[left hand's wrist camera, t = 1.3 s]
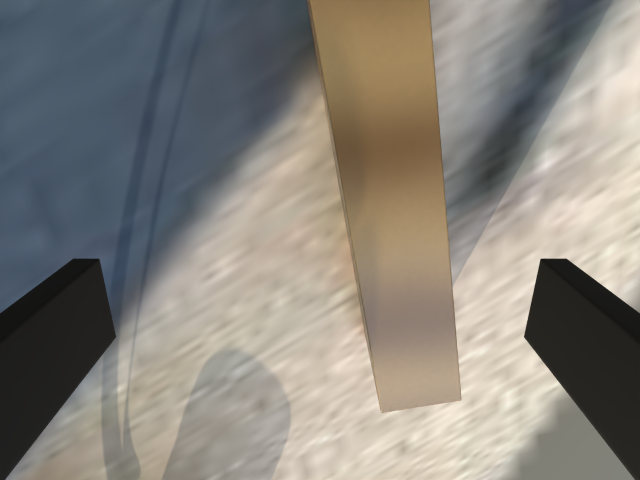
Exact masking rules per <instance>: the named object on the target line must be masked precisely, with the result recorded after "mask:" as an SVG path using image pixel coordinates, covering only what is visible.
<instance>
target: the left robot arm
mask: <svg viewBox="0 0 640 480" xmlns="http://www.w3.org/2000/svg"><path fill="white" fill-rule="evenodd" d="M115 338H116V335H115V330H114V325H113V321H112V316H111V311H110V307H109V302H108V297H107V293H106V288H105V283H104V278H103V274H102V269H101V264H100V260H99V259H72V260H71V261H70V262H68V263H67V264H66V265H64V266H63V267H62V268H60V269H59V270H58V271H56V272H55V273H54V274H52V275H51V276H50V277H48V278H47V279H46V280H44V281H43V282H42V283H40V284H39V285H38V286H36V287H35V288H34V289H32V290H31V291H30V292H28V293H27V294H26V295H24V296H23V297H22V298H20V299H19V300H18V301H16V302H15V303H14V304H12V305H11V306H10V307H8V308H7V309H5V310H4V311H3V312H1V313H0V480H5V479H6V478H7V476H8V475H9V474H10V473H11V471H12V470H13V469H14V467H15V466H16V465H17V464H18V462H19V461H20V460H21V458H22V457H23V456H24V455H25V453H26V452H27V451H28V449H29V448H30V447H31V446H32V444H33V443H34V442H35V440H36V439H37V438H38V437H39V435H40V434H41V433H42V431H43V430H44V429H45V428H46V426H47V425H48V424H49V422H50V421H51V420H52V419H53V417H54V416H55V415H56V413H57V412H58V411H59V410H60V408H61V407H62V406H63V404H64V403H65V402H66V401H67V399H68V398H69V397H70V395H71V394H72V393H73V392H74V390H75V389H76V388H77V386H78V385H79V384H80V383H81V381H82V380H83V379H84V377H85V376H86V375H87V374H88V372H89V371H90V370H91V368H92V367H93V366H94V365H95V363H96V362H97V361H98V359H99V358H100V357H101V356H102V354H103V353H104V352H105V350H106V349H107V348H108V347H109V345H110V344H111V343H112V341H113V340H114V339H115ZM524 338H525V339H526V340H527V341H528V343H529V344H530V345H531V347H532V348H533V349H534V350H535V352H536V353H537V354H538V356H539V357H540V358H541V359H542V361H543V362H544V363H545V365H546V366H547V367H548V368H549V370H550V371H551V372H552V374H553V375H554V376H555V377H556V379H557V380H558V381H559V383H560V384H561V385H562V386H563V388H564V389H565V390H566V392H567V393H568V394H569V395H570V397H571V398H572V399H573V401H574V402H575V403H576V404H577V406H578V407H579V408H580V410H581V411H582V412H583V413H584V415H585V416H586V417H587V419H588V420H589V421H590V422H591V424H592V425H593V426H594V428H595V429H596V430H597V431H598V433H599V434H600V435H601V437H602V438H603V439H604V440H605V442H606V443H607V444H608V446H609V447H610V448H611V449H612V451H613V452H614V453H615V455H616V456H617V457H618V458H619V460H620V461H621V462H622V463H623V465H624V466H625V467H626V469H627V470H628V471H629V473H630V474H631V475H632V476H633V478H634V479H635V480H640V313H639V312H637V311H636V310H635V309H633V308H632V307H630V306H629V305H628V304H626V303H625V302H624V301H622V300H621V299H620V298H618V297H617V296H616V295H614V294H613V293H612V292H610V291H609V290H608V289H606V288H605V287H604V286H602V285H601V284H600V283H598V282H597V281H596V280H594V279H593V278H592V277H590V276H589V275H588V274H586V273H585V272H584V271H582V270H581V269H580V268H578V267H577V266H576V265H574V264H573V263H572V262H570V261H569V260H568V259H541V260H540V264H539V269H538V274H537V278H536V283H535V288H534V293H533V297H532V302H531V307H530V311H529V316H528V321H527V325H526V330H525V335H524Z"/></svg>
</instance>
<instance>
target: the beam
mask: <svg viewBox="0 0 640 480" xmlns="http://www.w3.org/2000/svg"><path fill="white" fill-rule="evenodd" d="M307 6H308V12H309V17H310V23H311V29H312V35H313V40H314V46H315V52H316V57H317V63H318V69H319V74H320V80H321V86H322V91H323V97H324V103H325V109H326V114H327V120H328V126H329V131H330V137H331V143H332V148H333V154H334V160H335V165H336V171H337V177H338V182H339V188H340V194H341V200H342V205H343V211H344V217H345V222H346V228H347V234H348V239H349V245H350V251H351V256H352V262H353V268H354V273H355V279H356V285H357V291H358V296H359V302H360V308H361V313H362V319H363V325H364V330H365V336H366V342H367V346H368V351H369V356H370V361H371V366H372V371H373V376H374V380H375V385H376V390H377V395H378V400H379V405H380V410H381V413H384V412H391V411H397V410H403V409H410V408H416V407H422V406H428V405H435V404H441V403H447V402H454V401H460V400H461V389H460V376H459V364H458V351H457V339H456V327H455V314H454V302H453V289H452V277H451V265H450V252H449V240H448V227H447V215H446V203H445V190H444V178H443V165H442V153H441V140H440V128H439V116H438V103H437V91H436V78H435V66H434V54H433V41H432V29H431V16H430V4H429V0H307Z"/></svg>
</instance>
